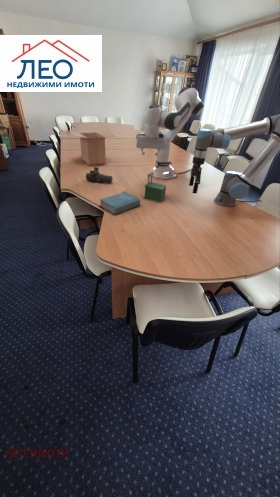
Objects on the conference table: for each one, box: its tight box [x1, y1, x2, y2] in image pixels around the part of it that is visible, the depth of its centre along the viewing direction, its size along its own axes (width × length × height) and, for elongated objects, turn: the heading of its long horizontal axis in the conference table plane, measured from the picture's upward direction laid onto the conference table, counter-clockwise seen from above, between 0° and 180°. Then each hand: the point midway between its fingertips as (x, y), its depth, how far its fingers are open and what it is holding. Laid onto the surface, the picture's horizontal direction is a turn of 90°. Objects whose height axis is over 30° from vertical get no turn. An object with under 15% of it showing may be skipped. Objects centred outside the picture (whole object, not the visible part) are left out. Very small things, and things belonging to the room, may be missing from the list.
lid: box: [143, 171, 167, 190], centre depth 161 cm, size 14×10×9 cm
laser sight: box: [85, 166, 113, 184], centre depth 186 cm, size 10×22×10 cm, turn 78°
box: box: [70, 129, 114, 166], centre depth 229 cm, size 44×36×27 cm
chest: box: [144, 186, 167, 203], centre depth 166 cm, size 13×10×9 cm
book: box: [99, 191, 141, 215], centre depth 152 cm, size 23×16×5 cm
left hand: (149, 155), depth 157 cm, fingers open, 8 cm apart
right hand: (192, 189), depth 152 cm, fingers open, 13 cm apart
